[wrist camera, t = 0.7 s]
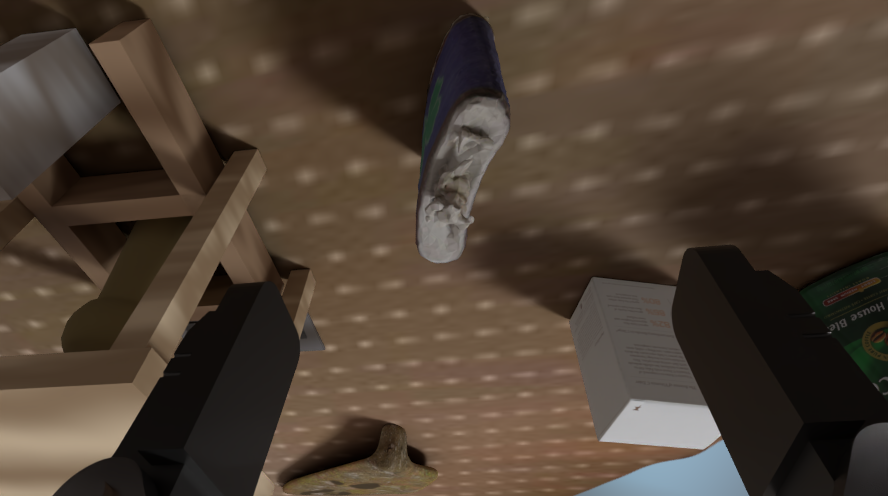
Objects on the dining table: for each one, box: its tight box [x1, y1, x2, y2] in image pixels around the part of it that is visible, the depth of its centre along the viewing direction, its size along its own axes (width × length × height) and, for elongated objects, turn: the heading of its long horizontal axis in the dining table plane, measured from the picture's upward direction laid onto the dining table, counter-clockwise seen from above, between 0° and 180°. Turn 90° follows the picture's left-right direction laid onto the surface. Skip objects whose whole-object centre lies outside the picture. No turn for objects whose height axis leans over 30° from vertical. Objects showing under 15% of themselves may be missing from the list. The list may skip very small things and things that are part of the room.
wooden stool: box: [0, 149, 325, 496], centre depth 31 cm, size 21×17×16 cm
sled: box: [0, 19, 284, 321], centre depth 28 cm, size 20×11×9 cm, turn 7°
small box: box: [569, 277, 721, 449], centre depth 35 cm, size 8×6×10 cm
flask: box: [416, 13, 510, 263], centre depth 23 cm, size 9×3×11 cm, turn 167°
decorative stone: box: [283, 424, 438, 496], centre depth 62 cm, size 25×15×5 cm, turn 134°
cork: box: [61, 215, 193, 353], centre depth 30 cm, size 6×6×11 cm
